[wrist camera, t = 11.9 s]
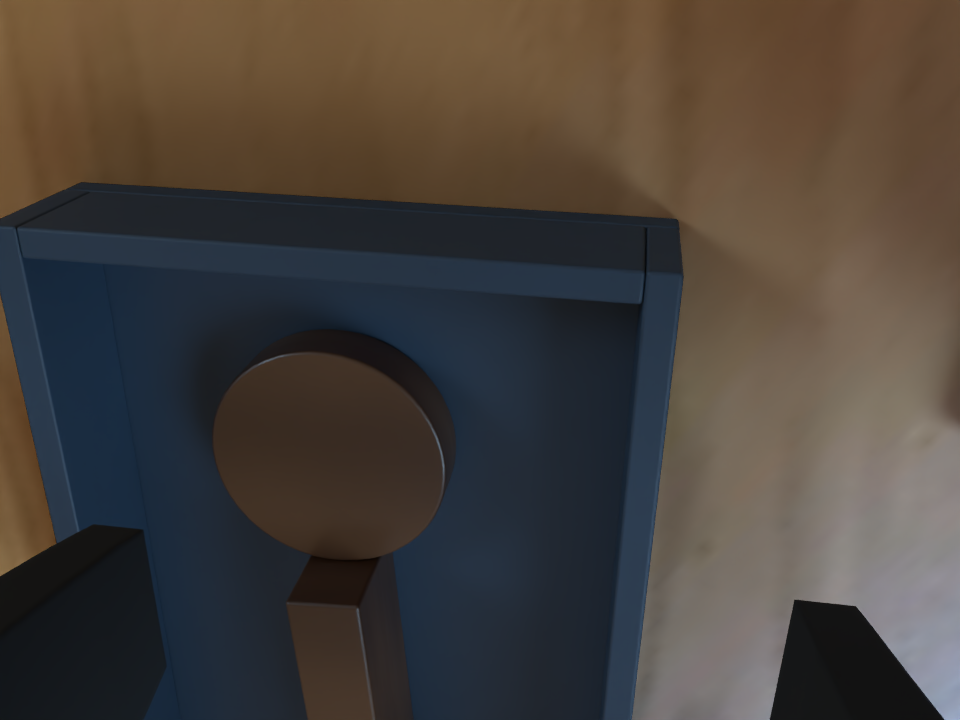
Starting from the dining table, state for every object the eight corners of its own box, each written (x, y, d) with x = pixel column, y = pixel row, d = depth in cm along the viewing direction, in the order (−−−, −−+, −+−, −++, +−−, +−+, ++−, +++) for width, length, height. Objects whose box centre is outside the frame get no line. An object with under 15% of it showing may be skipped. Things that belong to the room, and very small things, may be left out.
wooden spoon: (495, 892, 25) (479, 988, 23) (323, 871, 26) (291, 962, 24) (447, 328, 18) (418, 386, 16) (214, 326, 19) (155, 381, 17)
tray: (678, 218, 17) (684, 273, 15) (596, 953, 27) (590, 1071, 24) (80, 181, 19) (-17, 225, 16) (203, 884, 29) (155, 986, 26)
